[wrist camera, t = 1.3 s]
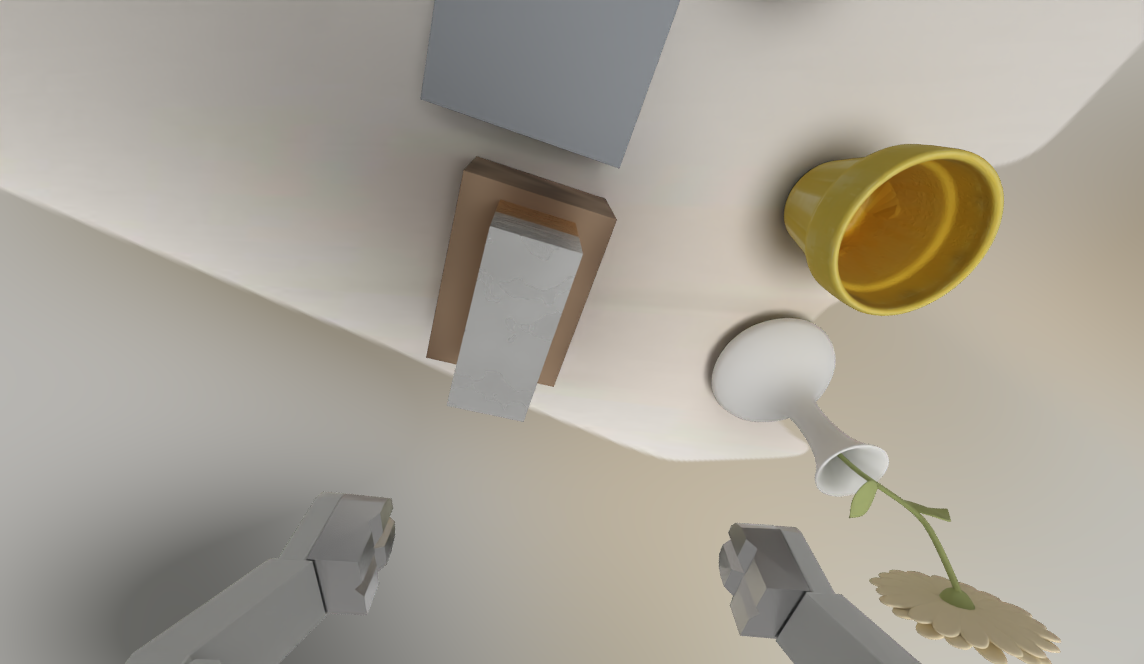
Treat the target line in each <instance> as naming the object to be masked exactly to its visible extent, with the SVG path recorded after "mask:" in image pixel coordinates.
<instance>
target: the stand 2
mask: <svg viewBox="0 0 1144 664" xmlns="http://www.w3.org/2000/svg"><path fill="white" fill-rule="evenodd" d="M500 199H501V200H504V201H507V202H511V203H514V204H517V205H520V206H523V207H527V208H530V209H533V210H536V211H539V212H542V213H546V214H549V215H552V216H555V217H558V218H562V219H565V220H568V221H571V222H574V223H576V227H577V231H578V235H579V239H580V244H581V248H582V252H583V255H582V258H581V261H580V264H579V267H578V270H577V272H576V275H575V278H574V281H573V284H572V286H571V289H570V292H569V295H568V298H567V301H566V303H565V306H564V309H563V312H562V315H561V317H560V320H559V323H558V326H557V329H556V332H555V334H554V337H553V340H552V343H551V346H550V348H549V351H548V354H547V357H546V360H545V363H544V365H543V368H542V371H541V374H540V377H539V379H538V382H537V383H539V384H543V385H548V386H552V387H554V384H555V382H556V379H557V376H558V374H559V371H560V369H561V366H562V363H563V361H564V358H565V355H566V353H567V350H568V347H569V345H570V342H571V340H572V337H573V334H574V332H575V329H576V326H577V324H578V321H579V318H580V316H581V313H582V311H583V308H584V305H585V303H586V300H587V297H588V295H589V292H590V289H591V287H592V284H593V281H594V279H595V276H596V274H597V271H598V268H599V266H600V263H601V260H602V258H603V255H604V252H605V250H606V247H607V245H608V242H609V239H610V237H611V234H612V231H613V229H614V226H615V223H616V221H617V219H616V217H615V215H614V214H613V212H612V210H611V208H610V206H609V204H608V203H607V201H606V199H604V198H601V197H598V196H595V195H592V194H589V193H586V192H583V191H580V190H577V189H574V188H571V187H568V186H565V185H562V184H559V183H556V182H553V181H550V180H547V179H544V178H541V177H538V176H535V175H532V174H529V173H526V172H523V171H520V170H517V169H514V168H511V167H508V166H505V165H502V164H499V163H496V162H493V161H489V160H486V159H483V158H480V157H477V156H476V158H475V159H474V160H473V161H472V162H471V163H470V164H469V165H468V166H467V167H466V168H465V169H464V170H463V175H462V180H461V185H460V190H459V195H458V200H457V205H456V210H455V215H454V220H453V225H452V230H451V235H450V240H449V245H448V250H447V255H446V260H445V265H444V270H443V275H442V281H441V286H440V291H439V296H438V301H437V306H436V311H435V316H434V321H433V326H432V331H431V336H430V341H429V346H428V351H427V356H426V358H431V359H435V360H439V361H444V362H448V363H452V364H457V361H458V356H459V352H460V348H461V344H462V340H463V336H464V332H465V327H466V323H467V319H468V315H469V311H470V307H471V302H472V298H473V294H474V290H475V286H476V282H477V278H478V273H479V269H480V265H481V261H482V257H483V253H484V249H485V244H486V240H487V236H488V232H489V228H490V225H491V222H492V219H493V217H494V214H495V211H496V209H497V206H498V204H499V201H500Z"/></svg>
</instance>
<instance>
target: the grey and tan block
mask: <svg viewBox="0 0 1144 664" xmlns="http://www.w3.org/2000/svg"><path fill="white" fill-rule="evenodd" d="M582 255H583V252H582V248H581V244H580V239H579V235H578V231H577V227H576V223H574V222H571V221H568V220H565V219H562V218H558V217H555V216H552V215H549V214H546V213H542V212H539V211H536V210H533V209H530V208H527V207H523V206H520V205H517V204H514V203H511V202H507V201H504V200H501V199H500V201H499V204H498V206H497V209H496V211H495V214H494V217H493V219H492V222H491V225H490V228H489V232H488V236H487V240H486V244H485V249H484V253H483V257H482V261H481V265H480V269H479V273H478V278H477V282H476V286H475V290H474V294H473V298H472V302H471V307H470V311H469V315H468V319H467V323H466V327H465V332H464V336H463V340H462V344H461V348H460V352H459V356H458V361H457V365H456V369H455V373H454V377H453V381H452V385H451V390H450V394H449V398H448V402H447V406H451V407H455V408H460V409H465V410H470V411H474V412H479V413H484V414H489V415H493V416H499V417H503V418H508V419H512V420H517V421H522V422H523V421H524V419H525V416H526V413H527V410H528V408H529V405H530V402H531V399H532V396H533V393H534V391H535V388H536V385H537V382H538V379H539V377H540V374H541V371H542V368H543V365H544V363H545V360H546V357H547V354H548V351H549V348H550V346H551V343H552V340H553V337H554V334H555V332H556V329H557V326H558V323H559V320H560V317H561V315H562V312H563V309H564V306H565V303H566V301H567V298H568V295H569V292H570V289H571V286H572V284H573V281H574V278H575V275H576V272H577V270H578V267H579V264H580V261H581V258H582Z"/></svg>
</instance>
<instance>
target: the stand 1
mask: <svg viewBox="0 0 1144 664" xmlns="http://www.w3.org/2000/svg"><path fill="white" fill-rule="evenodd" d="M679 2H680V0H435V3H434V10H433V17H432V24H431V31H430V37H429V44H428V51H427V58H426V65H425V72H424V79H423V86H422V93H421V100H424V101H427V102H430V103H433V104H436V105H439V106H441V107H444V108H447V109H450V110H453V111H456V112H459V113H462V114H464V115H467V116H470V117H473V118H476V119H479V120H482V121H485V122H487V123H490V124H493V125H496V126H499V127H502V128H505V129H507V130H510V131H513V132H516V133H519V134H522V135H525V136H528V137H530V138H533V139H536V140H539V141H542V142H545V143H548V144H551V145H553V146H556V147H559V148H562V149H565V150H568V151H571V152H573V153H576V154H579V155H582V156H585V157H588V158H591V159H594V160H596V161H599V162H602V163H605V164H608V165H611V166H614V167H617V168H620V165H621V163H622V160H623V157H624V154H625V152H626V149H627V146H628V143H629V141H630V138H631V135H632V132H633V129H634V127H635V124H636V121H637V118H638V116H639V113H640V110H641V107H642V105H643V102H644V99H645V96H646V93H647V91H648V88H649V85H650V82H651V80H652V77H653V74H654V71H655V69H656V66H657V63H658V60H659V57H660V55H661V52H662V49H663V46H664V44H665V41H666V38H667V35H668V33H669V30H670V27H671V24H672V22H673V19H674V16H675V13H676V10H677V8H678V5H679Z"/></svg>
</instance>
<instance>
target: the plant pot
mask: <svg viewBox="0 0 1144 664" xmlns="http://www.w3.org/2000/svg"><path fill="white" fill-rule="evenodd" d="M1003 206H1004V195H1003V187H1002V185H1001V181H1000V179H999V176H998V174H997V172H996V171H995V170H994V168H993V167H992V166H991V165H990V164H989V163H988V162H987V161H986V160H985V159H983V158H982V157H980V156H979V155H976V154H974V153H972V152H969V151H965V150H961V149H955V148H948V147H941V146H934V145H921V144H903V145H896V146H892V147H888V148H885V149H882V150H879V151H877V152H874V153H872V154H870V155H868V156H866V157H861V158H853V159H845V160H836V161H830V162H826V163H823V164H821V165H819V166H817V167H815V168H813V169H812V170H810V171H809V172H807V173H806V174H805V175H804V176H803V177H802V178H801V179H800V180H799V181H798V182H797V183H796V184H795V186H794V187H793V188H792V190H791V192H790V194H789V196H788V198H787V201H786V204H785V208H784V222H785V226H786V229H787V231H788V233H789V234H790V236H791V237H792V238H793V239H794V241H795V242H796V243H797V244H798V246H799V247H800V248H801V249H802V251H803V252H804V253H805V255H806V260H807V264H808V267H809V269H810V272H811V273H812V275H813V277H814V278H815V280H816V281H817V282H818V283H819V284H820V285H821V286H822V287H823V288H824V289H826V290H827V291H828V292H829V293H831V294H832V295H833V296H835V297H836V298H837V299H839V300H840V301H842V302H843V303H845V304H846V305H848V306H850V307H852V308H853V309H855V310H857V311H860V312H863V313H866V314H871V315H880V316H885V315H887V316H888V315H897V314H903V313H907V312H910V311H913V310H916V309H919V308H921V307H923V306H926V305H928V304H930V303H932V302H934V301H936V300H937V299H939V298H940V297H942V296H944V295H945V294H947V293H948V292H950V291H951V290H952V289H954V288H955V287H956V286H957V285H958V284H960V283H961V282H962V281H963V280H964V279H965V278H966V277H967V276H968V275H969V274H970V273H971V272H972V271H973V270H974V268H975V267H976V266H977V265H978V264H979V263H980V261H981V260H982V258H983V257H984V256H985V254H986V253H987V251H988V250H989V248H990V246H991V245H992V243H993V240H994V238H995V236H996V234H997V232H998V229H999V226H1000V222H1001V219H1002V214H1003Z"/></svg>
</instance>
